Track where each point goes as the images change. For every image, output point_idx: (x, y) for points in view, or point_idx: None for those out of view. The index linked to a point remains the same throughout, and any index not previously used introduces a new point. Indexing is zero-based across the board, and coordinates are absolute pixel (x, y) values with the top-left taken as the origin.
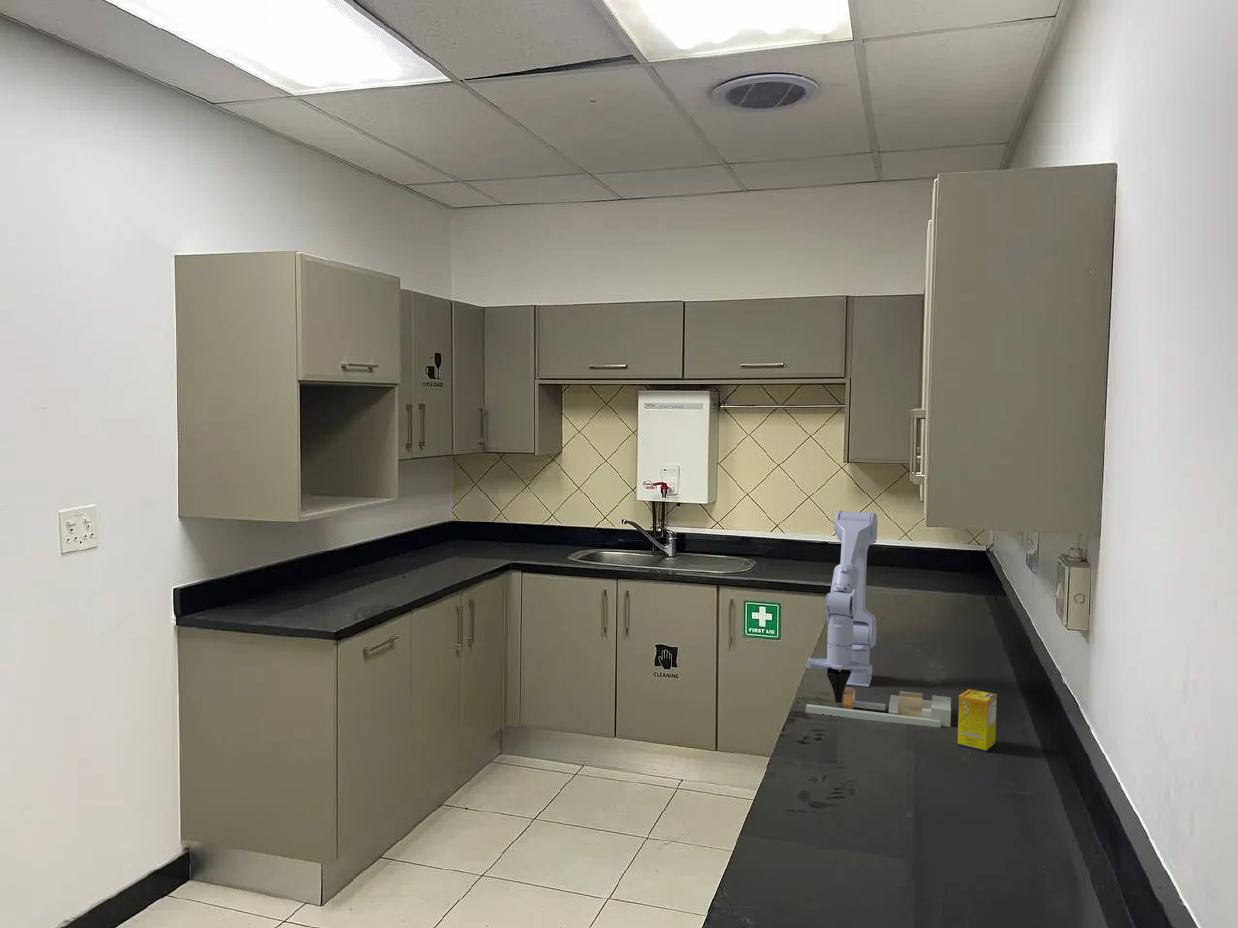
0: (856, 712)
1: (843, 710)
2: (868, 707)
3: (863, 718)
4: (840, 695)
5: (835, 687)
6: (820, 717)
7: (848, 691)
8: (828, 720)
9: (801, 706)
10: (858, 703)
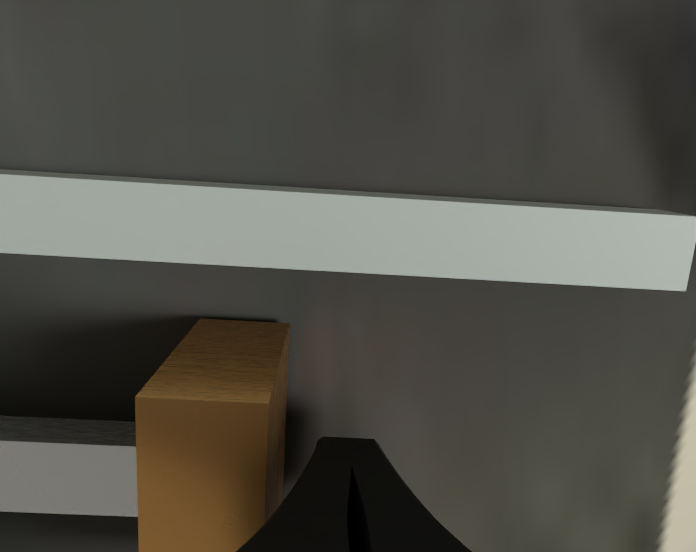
0: (124, 183)
1: (272, 190)
2: (28, 421)
3: (70, 173)
4: (320, 467)
5: (399, 528)
6: (509, 95)
7: (213, 550)
8: (425, 16)
9: (687, 385)
10: (122, 441)
